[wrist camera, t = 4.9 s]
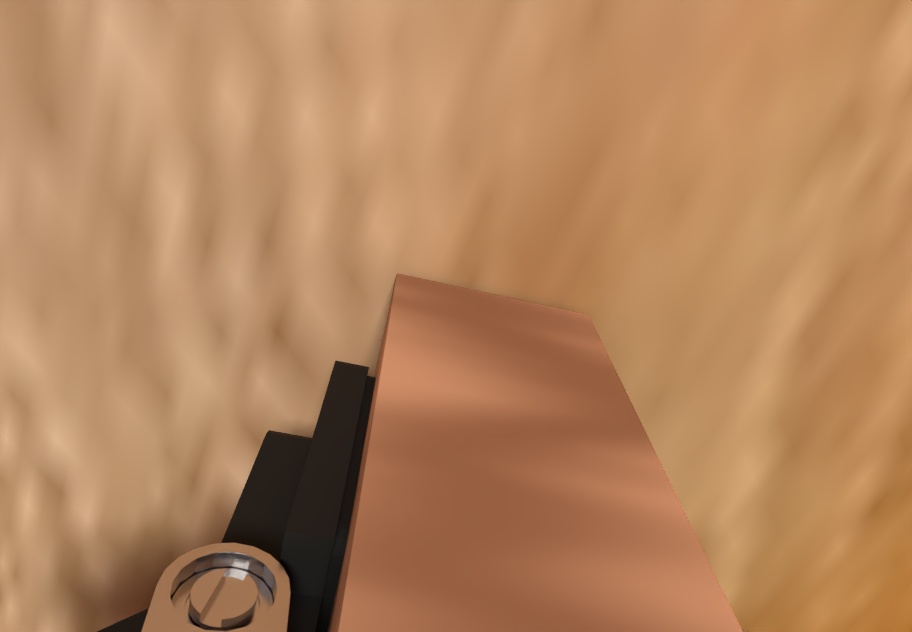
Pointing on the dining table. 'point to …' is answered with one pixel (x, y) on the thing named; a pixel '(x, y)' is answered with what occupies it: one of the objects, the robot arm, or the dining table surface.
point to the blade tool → (512, 483)
